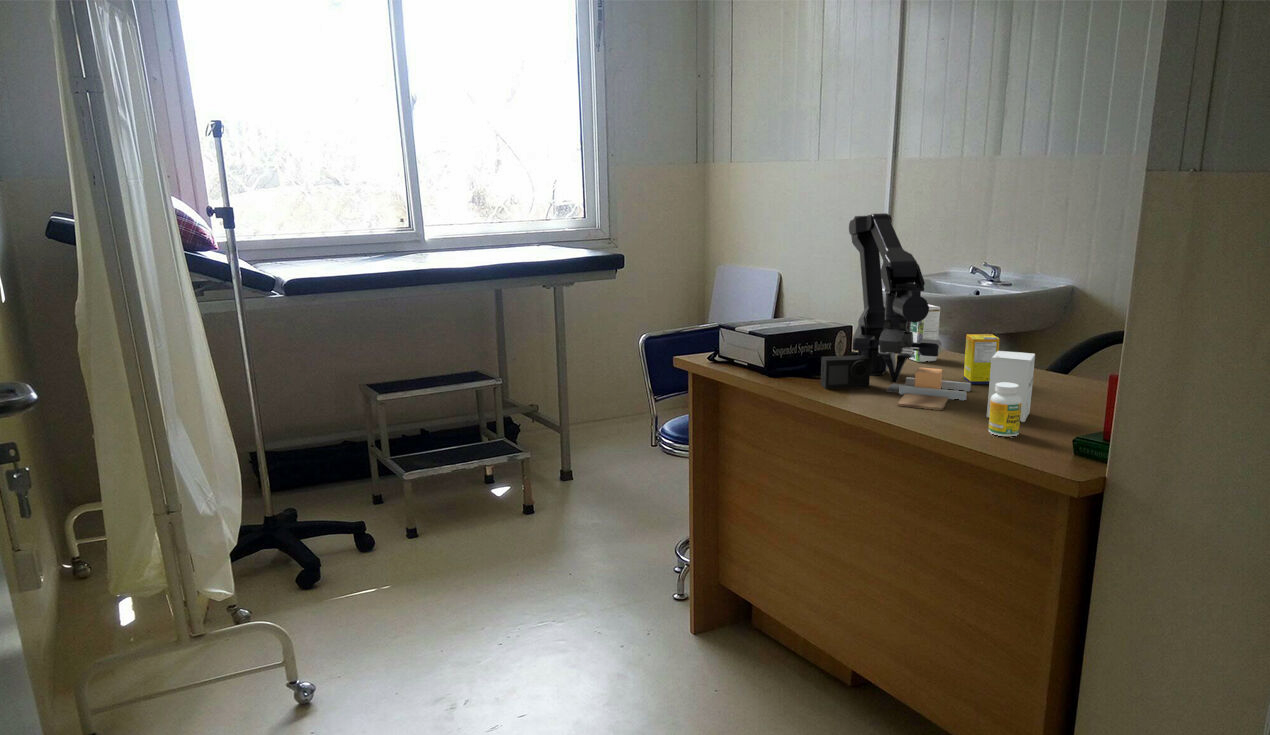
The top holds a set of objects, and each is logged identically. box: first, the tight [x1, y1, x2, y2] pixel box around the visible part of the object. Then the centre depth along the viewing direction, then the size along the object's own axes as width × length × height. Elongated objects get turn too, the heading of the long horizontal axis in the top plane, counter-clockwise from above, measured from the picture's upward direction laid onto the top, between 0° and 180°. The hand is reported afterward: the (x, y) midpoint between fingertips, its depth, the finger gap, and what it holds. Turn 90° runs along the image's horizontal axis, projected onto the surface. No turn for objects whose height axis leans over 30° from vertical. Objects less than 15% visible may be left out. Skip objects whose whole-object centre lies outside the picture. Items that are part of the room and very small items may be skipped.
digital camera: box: [820, 354, 871, 390], centre depth 191 cm, size 10×5×7 cm, turn 93°
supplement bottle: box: [988, 382, 1022, 437], centre depth 154 cm, size 5×5×10 cm
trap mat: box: [885, 382, 915, 394], centre depth 189 cm, size 5×7×1 cm
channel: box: [898, 376, 972, 401], centre depth 185 cm, size 14×9×2 cm, turn 62°
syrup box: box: [909, 303, 941, 363], centre depth 216 cm, size 6×6×14 cm
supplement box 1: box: [963, 333, 1000, 385], centre depth 192 cm, size 6×6×11 cm
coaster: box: [897, 393, 949, 411], centre depth 177 cm, size 9×9×1 cm
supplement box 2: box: [986, 350, 1036, 423], centre depth 165 cm, size 7×7×13 cm
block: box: [914, 367, 943, 389], centre depth 185 cm, size 5×5×5 cm
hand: (894, 382), depth 189 cm, fingers closed
